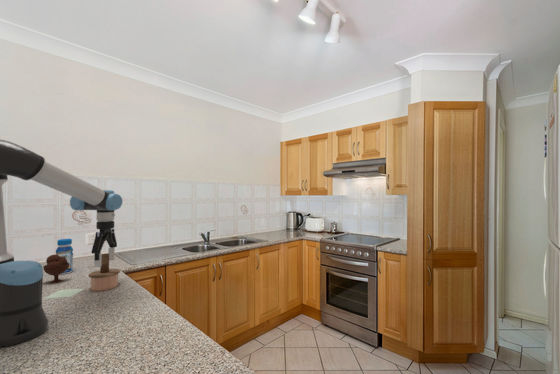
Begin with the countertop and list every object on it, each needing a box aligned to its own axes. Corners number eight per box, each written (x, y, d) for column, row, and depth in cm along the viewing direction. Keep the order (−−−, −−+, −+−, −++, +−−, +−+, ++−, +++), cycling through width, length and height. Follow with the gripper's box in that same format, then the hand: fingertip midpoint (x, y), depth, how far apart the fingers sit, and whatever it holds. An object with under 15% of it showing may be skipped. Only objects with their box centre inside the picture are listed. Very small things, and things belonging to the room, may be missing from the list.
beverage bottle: (76, 270, 162) (77, 238, 162) (63, 275, 153) (64, 240, 154) (64, 270, 162) (64, 238, 163) (50, 274, 154) (51, 240, 155)
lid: (112, 277, 125) (113, 256, 126) (82, 278, 123) (83, 257, 123) (124, 269, 138) (124, 251, 138) (97, 271, 136) (97, 252, 136)
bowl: (111, 291, 126) (111, 276, 126) (85, 292, 124) (85, 278, 124) (121, 283, 137) (121, 270, 137) (98, 285, 135) (98, 271, 135)
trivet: (71, 298, 118) (71, 296, 118) (43, 299, 116) (43, 298, 116) (85, 289, 129) (85, 288, 129) (60, 291, 127) (60, 289, 127)
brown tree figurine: (54, 286, 133) (54, 257, 134) (36, 285, 135) (37, 256, 136) (74, 280, 143) (74, 252, 144) (58, 279, 146) (58, 251, 146)
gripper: (101, 223, 120) (100, 269, 119) (124, 218, 144) (123, 257, 144) (82, 223, 119) (82, 270, 118) (109, 218, 143) (108, 257, 143)
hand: (104, 263), depth 131 cm, fingers open, 13 cm apart
